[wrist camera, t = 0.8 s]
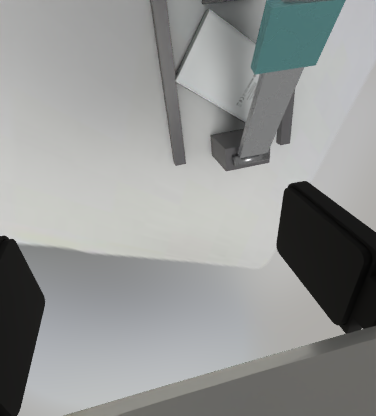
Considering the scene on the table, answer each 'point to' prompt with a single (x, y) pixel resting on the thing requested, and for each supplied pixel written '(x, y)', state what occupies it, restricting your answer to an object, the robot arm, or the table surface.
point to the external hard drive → (220, 66)
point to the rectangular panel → (282, 65)
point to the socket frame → (221, 143)
